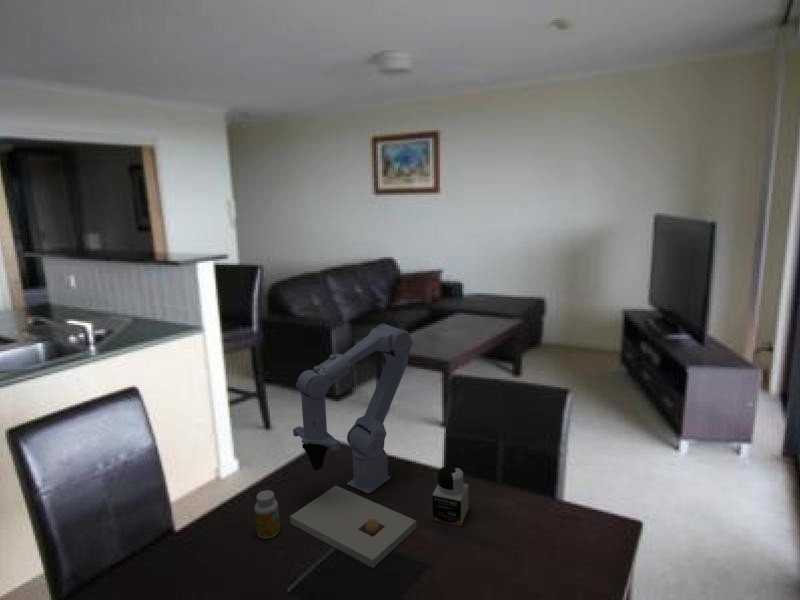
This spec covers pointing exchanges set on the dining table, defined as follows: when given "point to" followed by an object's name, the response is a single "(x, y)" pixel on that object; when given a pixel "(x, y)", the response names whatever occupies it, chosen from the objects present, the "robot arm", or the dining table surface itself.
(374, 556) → the white flat board
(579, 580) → the dining table surface
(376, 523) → the ball
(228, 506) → the dining table surface
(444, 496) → the medicine bottle
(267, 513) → the supplement bottle
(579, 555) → the dining table surface
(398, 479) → the dining table surface
